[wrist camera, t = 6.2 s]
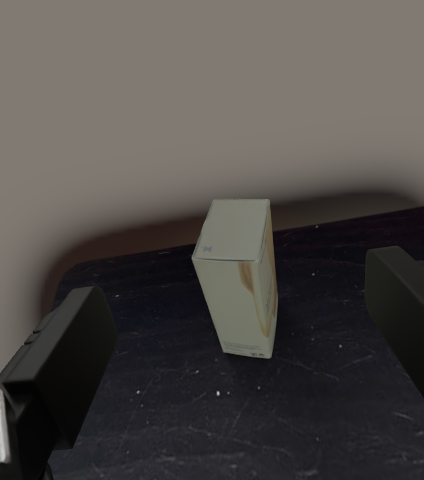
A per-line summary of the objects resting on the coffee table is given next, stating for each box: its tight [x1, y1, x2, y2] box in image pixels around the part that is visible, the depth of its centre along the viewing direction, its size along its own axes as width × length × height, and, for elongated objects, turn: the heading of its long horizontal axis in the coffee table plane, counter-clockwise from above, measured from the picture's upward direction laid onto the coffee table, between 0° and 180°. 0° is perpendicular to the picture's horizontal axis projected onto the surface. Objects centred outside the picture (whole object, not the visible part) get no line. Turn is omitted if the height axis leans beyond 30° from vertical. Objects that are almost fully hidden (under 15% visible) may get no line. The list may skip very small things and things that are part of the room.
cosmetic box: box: [192, 199, 278, 358], centre depth 25 cm, size 6×4×12 cm
